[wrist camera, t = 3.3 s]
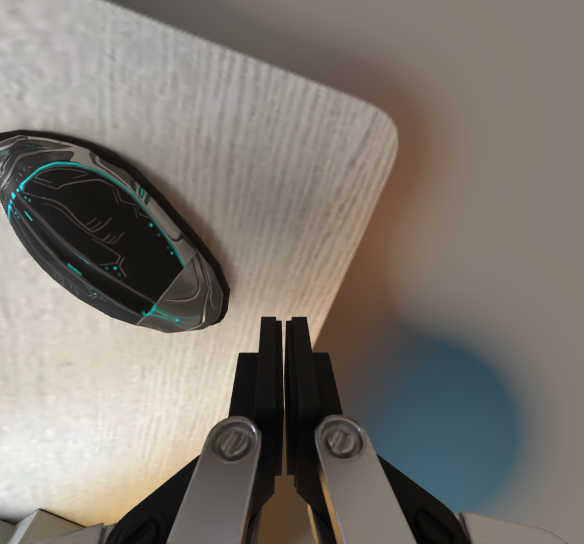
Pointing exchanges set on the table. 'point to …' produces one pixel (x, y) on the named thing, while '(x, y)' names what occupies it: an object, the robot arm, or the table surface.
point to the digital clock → (35, 528)
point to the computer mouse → (108, 233)
